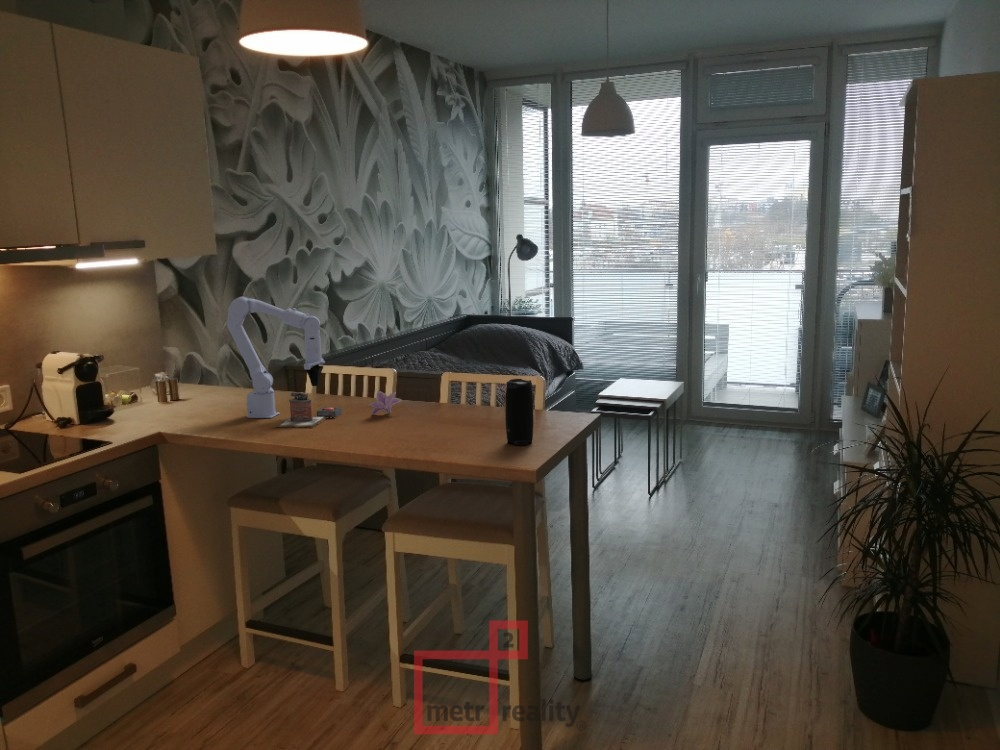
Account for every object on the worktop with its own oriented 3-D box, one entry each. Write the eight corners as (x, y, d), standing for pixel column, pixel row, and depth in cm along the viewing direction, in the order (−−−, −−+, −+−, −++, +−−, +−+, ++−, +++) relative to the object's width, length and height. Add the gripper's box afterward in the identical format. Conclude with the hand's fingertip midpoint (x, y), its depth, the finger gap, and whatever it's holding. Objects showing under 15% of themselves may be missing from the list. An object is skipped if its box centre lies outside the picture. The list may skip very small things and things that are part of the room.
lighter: (314, 419, 277) (312, 391, 276) (310, 421, 274) (308, 393, 272) (293, 419, 279) (291, 391, 277) (288, 421, 276) (286, 393, 274)
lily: (408, 416, 288) (400, 392, 291) (402, 410, 277) (394, 385, 279) (377, 427, 288) (369, 403, 290) (370, 421, 277) (362, 396, 279)
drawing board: (276, 427, 270) (276, 425, 270) (293, 417, 285) (292, 415, 284) (312, 427, 268) (312, 425, 268) (327, 418, 283) (327, 415, 283)
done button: (322, 413, 285) (322, 409, 284) (326, 411, 288) (326, 407, 288) (332, 413, 284) (332, 409, 284) (335, 411, 288) (335, 407, 287)
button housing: (317, 417, 283) (316, 411, 283) (323, 413, 290) (323, 407, 290) (335, 418, 283) (335, 411, 282) (341, 413, 289) (341, 407, 289)
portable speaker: (510, 447, 238) (508, 384, 234) (503, 440, 247) (501, 379, 243) (537, 445, 240) (536, 382, 236) (529, 438, 249) (528, 377, 245)
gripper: (316, 352, 280) (318, 389, 282) (330, 346, 294) (332, 382, 296) (297, 351, 281) (299, 389, 283) (312, 346, 295) (314, 382, 297)
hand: (315, 385), depth 290 cm, fingers closed
